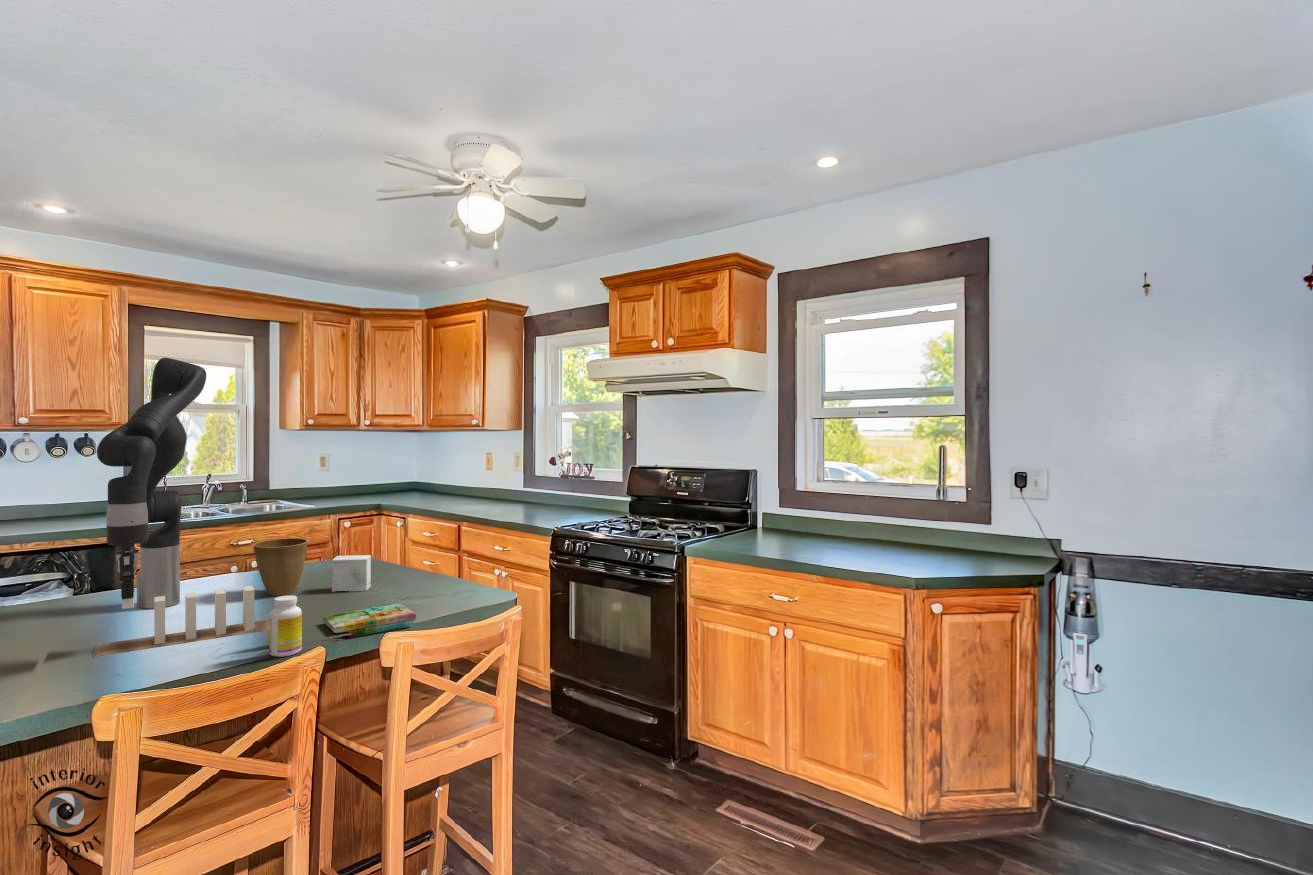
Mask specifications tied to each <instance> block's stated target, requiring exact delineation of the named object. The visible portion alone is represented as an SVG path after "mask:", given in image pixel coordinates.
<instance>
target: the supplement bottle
mask: <svg viewBox="0 0 1313 875" xmlns="http://www.w3.org/2000/svg"><path fill="white" fill-rule="evenodd" d="M297 602H298V596H296V595H282V596H276V597H275V598H273V604H274V609H272V610H271V611H270V612H269V616H268V620H269V630H268V631H269V632H268V633H269V635H268V636H269V637H268V640H269V641H268V642H269V643H268V645H269V648H268V650H269V655H271V656H272V657H279V658H281V657H289V656H293V655H296V654H298V653H300V652H301V650H302V648H303V641H302V640H303V634H302V633H303V631H302V630H303V629H302V628H303V625H302V624H303V623H302V620H303V619H302V618H303V616H302V614H303V613H302V609H301V608H300V607H299V606H297Z"/></svg>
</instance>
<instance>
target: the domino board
mask: <svg viewBox="0 0 1313 875" xmlns="http://www.w3.org/2000/svg"><path fill="white" fill-rule="evenodd" d="M266 631H269V619H264V620H257V621H254V630H248V631H245V630H244V627H243V622H242V623H237V624H228V625H226V634H221V635H216V632H215V626H214V627H209V628H201V629H196V638H195V639H188V640H186V635H185V631H180V632H174V633H168V634H167V633H165V643H162V644H155V635H154V636H153V635H152V636H145V637H140V638H139V637H138V638H133V639H125V640H120V641H111V642H105V643H98V644H95V645H94V649H93V652H92V655H91V658H96V657H103V656H108V655H115V654H116V655H117V654H123V653H130V652H136V651H142V650H147V649H148V650H149V649H153V648H154V649H155V648H161V647H168V646H175V645H181V644H189V643H196V642H201V641H206V640H209V641H210V640H215V639H219V638H220V639H221V638H228V637H233V636H239V635H246V634H247V635H248V634H255V633H258V632H259V633H260V632H261V633H262V632H266Z"/></svg>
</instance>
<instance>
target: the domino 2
mask: <svg viewBox="0 0 1313 875" xmlns="http://www.w3.org/2000/svg"><path fill="white" fill-rule="evenodd" d="M153 609H154V610H153V611H154V612H153V616H154V628H153V629H154V630H153V632H154V636H155V644H162V643H165V635H166V607H165V596H161V597H155V599H154V608H153Z"/></svg>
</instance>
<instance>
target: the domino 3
mask: <svg viewBox="0 0 1313 875" xmlns="http://www.w3.org/2000/svg"><path fill="white" fill-rule="evenodd" d="M184 594H185V595H184V596H185V598H184V599H185V600H184V603H185V605H184V606H185V607H184V608H185V611H184V612H185V614H184V615H185V619H184V621H185V622H184V624H185V630H184V632H185V635H186V640H188V639H195V638H196V630H197V593H196V592H188V593H184Z"/></svg>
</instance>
